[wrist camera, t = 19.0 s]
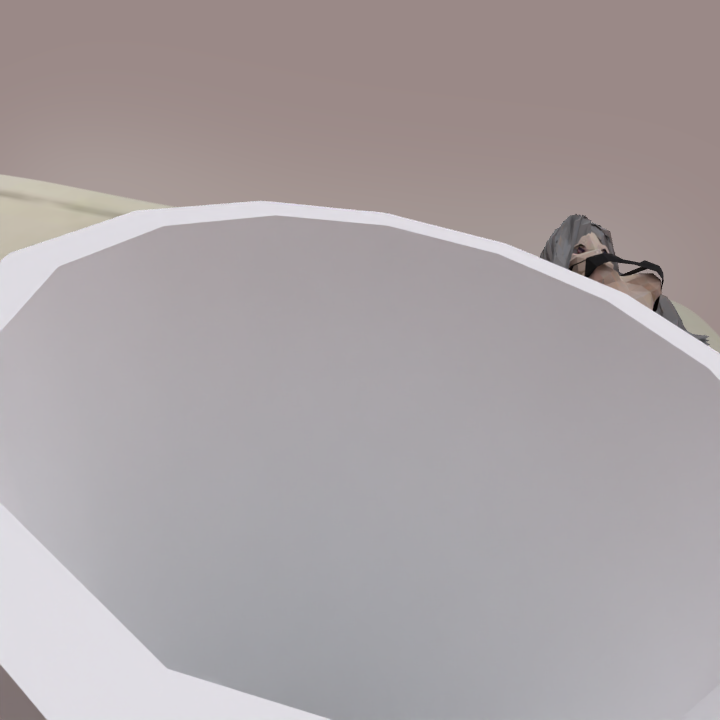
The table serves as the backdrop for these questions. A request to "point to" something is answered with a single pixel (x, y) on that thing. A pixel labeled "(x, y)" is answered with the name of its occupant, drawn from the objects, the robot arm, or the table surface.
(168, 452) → the foam cup
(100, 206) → the table surface
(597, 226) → the anime figure
